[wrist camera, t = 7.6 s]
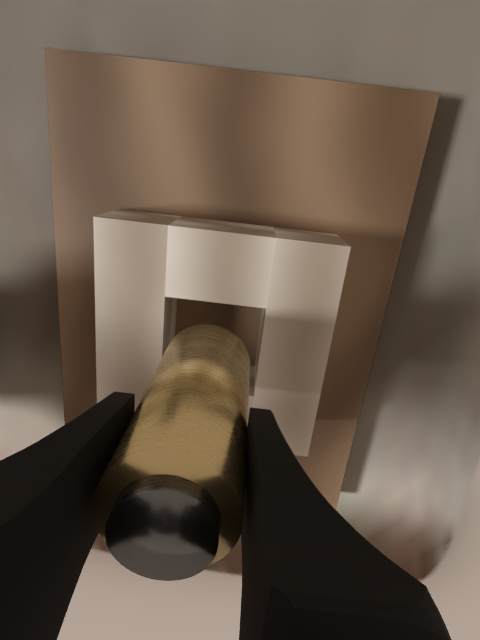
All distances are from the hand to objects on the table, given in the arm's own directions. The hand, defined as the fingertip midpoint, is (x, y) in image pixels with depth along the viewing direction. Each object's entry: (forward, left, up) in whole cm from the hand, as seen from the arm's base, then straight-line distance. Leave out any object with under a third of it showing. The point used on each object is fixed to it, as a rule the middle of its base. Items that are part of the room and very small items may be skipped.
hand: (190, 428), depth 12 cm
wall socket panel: (0, 0, -10) cm, 10 cm away
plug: (0, 0, -4) cm, 4 cm away
